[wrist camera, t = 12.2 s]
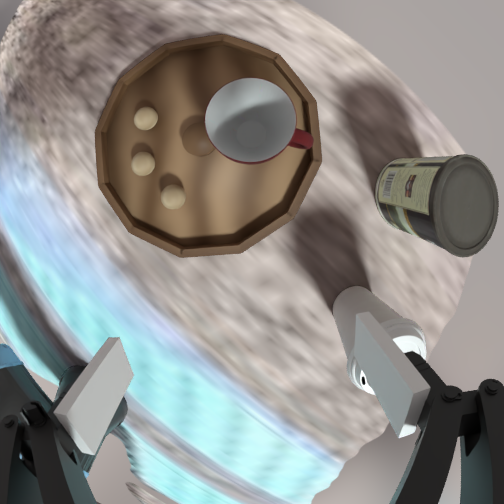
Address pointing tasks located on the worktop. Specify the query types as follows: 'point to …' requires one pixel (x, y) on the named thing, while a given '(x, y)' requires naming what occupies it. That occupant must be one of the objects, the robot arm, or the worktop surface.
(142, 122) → the bead
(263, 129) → the mug
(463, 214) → the coffee can
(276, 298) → the worktop surface
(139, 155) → the bead
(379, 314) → the coffee cup
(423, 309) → the worktop surface
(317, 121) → the ring tray
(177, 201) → the bead
